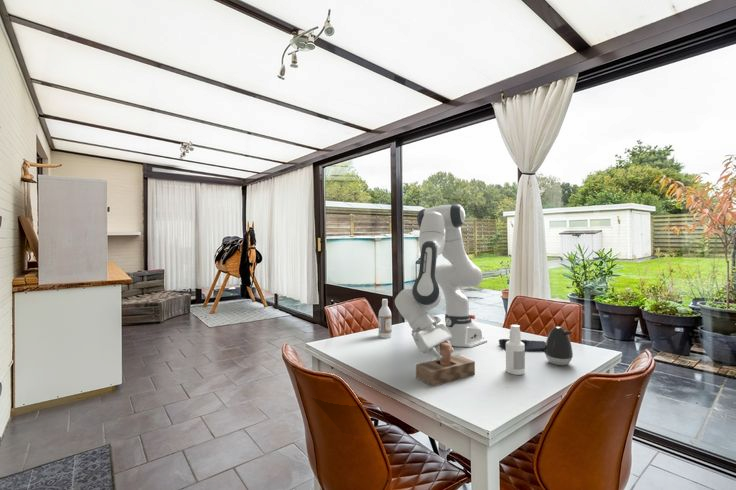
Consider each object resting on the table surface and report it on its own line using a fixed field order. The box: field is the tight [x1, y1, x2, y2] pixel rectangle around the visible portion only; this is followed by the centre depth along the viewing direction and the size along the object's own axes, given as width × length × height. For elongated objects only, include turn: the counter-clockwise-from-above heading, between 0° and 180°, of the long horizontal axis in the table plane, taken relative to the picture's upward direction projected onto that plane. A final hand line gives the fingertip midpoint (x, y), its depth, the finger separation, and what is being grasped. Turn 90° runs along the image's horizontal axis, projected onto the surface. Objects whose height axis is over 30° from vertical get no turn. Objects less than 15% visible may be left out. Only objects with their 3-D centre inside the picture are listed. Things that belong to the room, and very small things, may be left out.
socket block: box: [415, 354, 476, 387], centre depth 132 cm, size 21×9×5 cm, turn 119°
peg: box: [439, 343, 452, 367], centre depth 132 cm, size 4×4×12 cm
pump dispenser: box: [544, 326, 574, 366], centre depth 144 cm, size 10×10×15 cm
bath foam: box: [377, 298, 393, 339], centre depth 187 cm, size 7×7×20 cm
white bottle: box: [505, 324, 526, 376], centre depth 136 cm, size 7×7×18 cm
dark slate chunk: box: [498, 338, 546, 352], centre depth 167 cm, size 15×22×5 cm
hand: (446, 355), depth 132 cm, fingers open, 8 cm apart
